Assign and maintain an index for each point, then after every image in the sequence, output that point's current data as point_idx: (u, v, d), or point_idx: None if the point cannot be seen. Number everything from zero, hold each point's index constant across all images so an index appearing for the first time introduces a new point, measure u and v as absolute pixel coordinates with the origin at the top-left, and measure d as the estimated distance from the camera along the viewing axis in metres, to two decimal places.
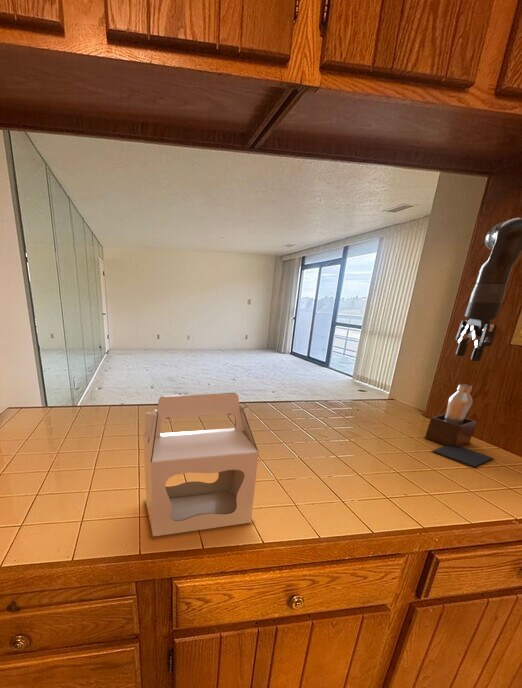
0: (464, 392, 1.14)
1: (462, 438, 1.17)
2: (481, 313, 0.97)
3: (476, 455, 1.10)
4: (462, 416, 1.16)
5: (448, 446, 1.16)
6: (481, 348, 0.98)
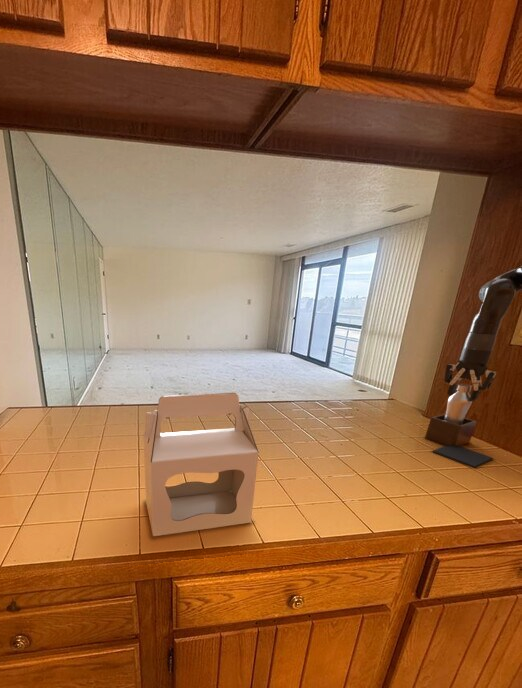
0: (463, 391, 1.14)
1: (462, 438, 1.17)
2: (483, 360, 1.07)
3: (476, 455, 1.10)
4: (462, 416, 1.16)
5: (448, 446, 1.16)
6: (479, 391, 1.11)
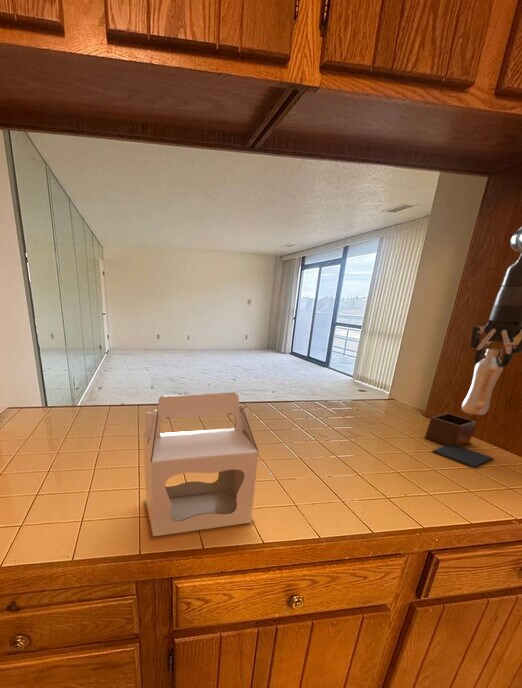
0: (493, 356, 1.00)
1: (462, 438, 1.17)
2: (518, 317, 0.93)
3: (476, 455, 1.10)
4: (491, 385, 1.02)
5: (448, 446, 1.16)
6: (512, 354, 0.97)
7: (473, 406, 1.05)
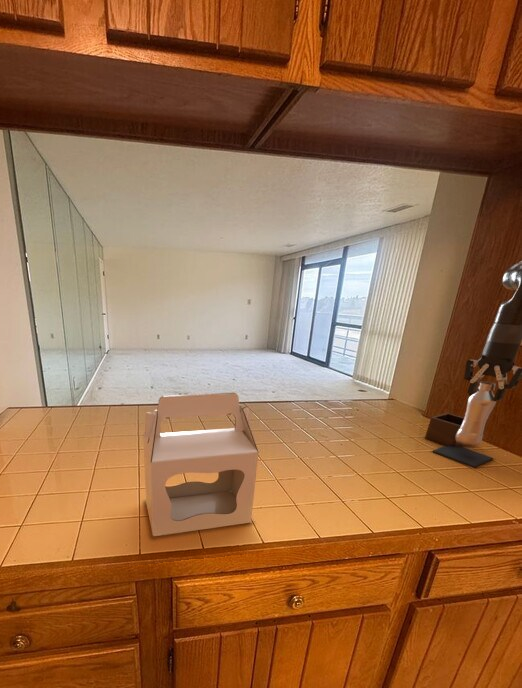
0: (486, 390, 1.01)
1: None
2: (511, 354, 0.95)
3: (476, 455, 1.10)
4: (484, 418, 1.03)
5: (448, 446, 1.16)
6: (505, 389, 0.98)
7: (467, 438, 1.06)
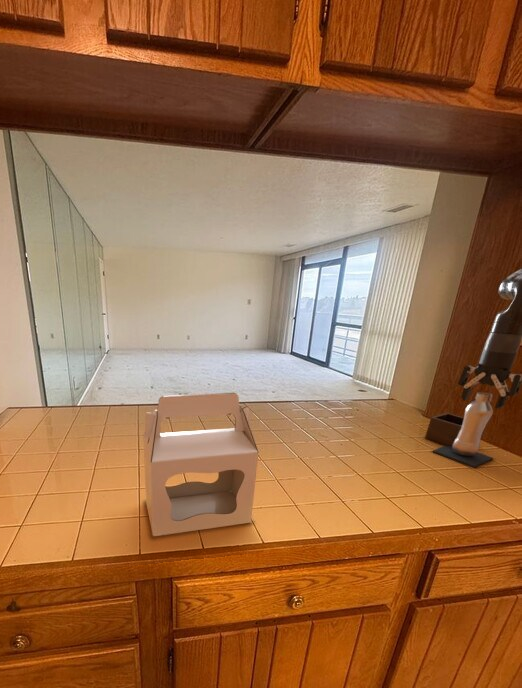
0: (483, 401, 1.02)
1: None
2: (507, 363, 0.96)
3: (476, 455, 1.10)
4: (481, 428, 1.04)
5: (448, 446, 1.16)
6: (507, 397, 0.98)
7: (463, 447, 1.07)
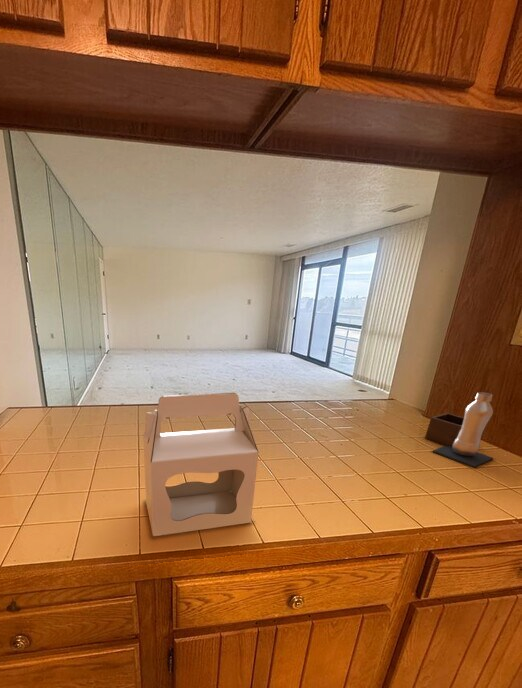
0: (483, 401, 1.02)
1: None
2: None
3: (476, 455, 1.10)
4: (481, 428, 1.04)
5: (448, 446, 1.16)
6: None
7: (463, 447, 1.07)
